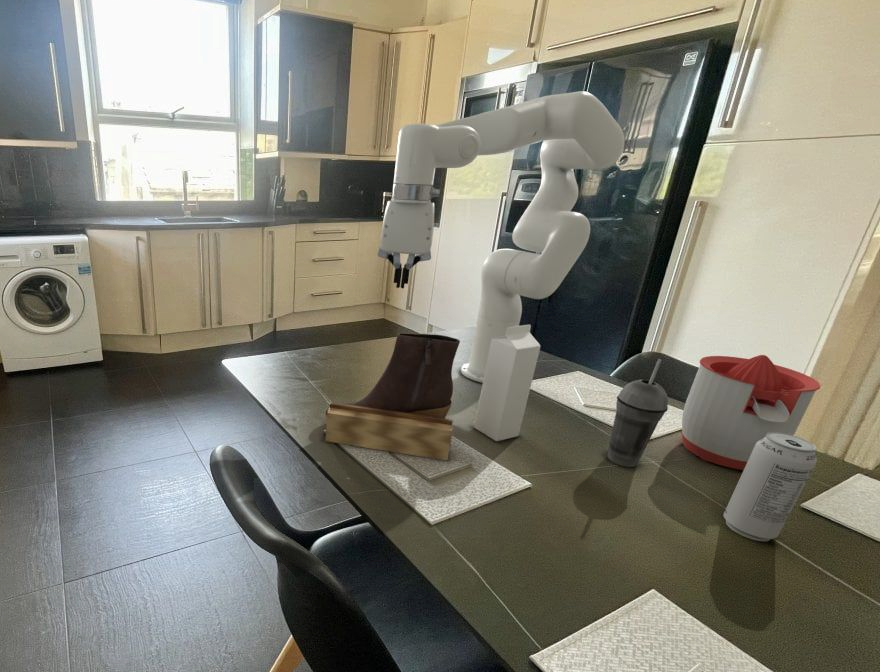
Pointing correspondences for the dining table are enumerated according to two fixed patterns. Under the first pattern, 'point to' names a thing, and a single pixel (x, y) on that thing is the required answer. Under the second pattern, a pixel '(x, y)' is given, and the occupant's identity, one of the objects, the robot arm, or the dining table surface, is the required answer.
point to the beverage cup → (636, 419)
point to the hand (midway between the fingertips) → (400, 286)
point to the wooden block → (389, 430)
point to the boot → (416, 377)
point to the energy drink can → (770, 485)
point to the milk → (507, 383)
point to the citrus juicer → (742, 406)
